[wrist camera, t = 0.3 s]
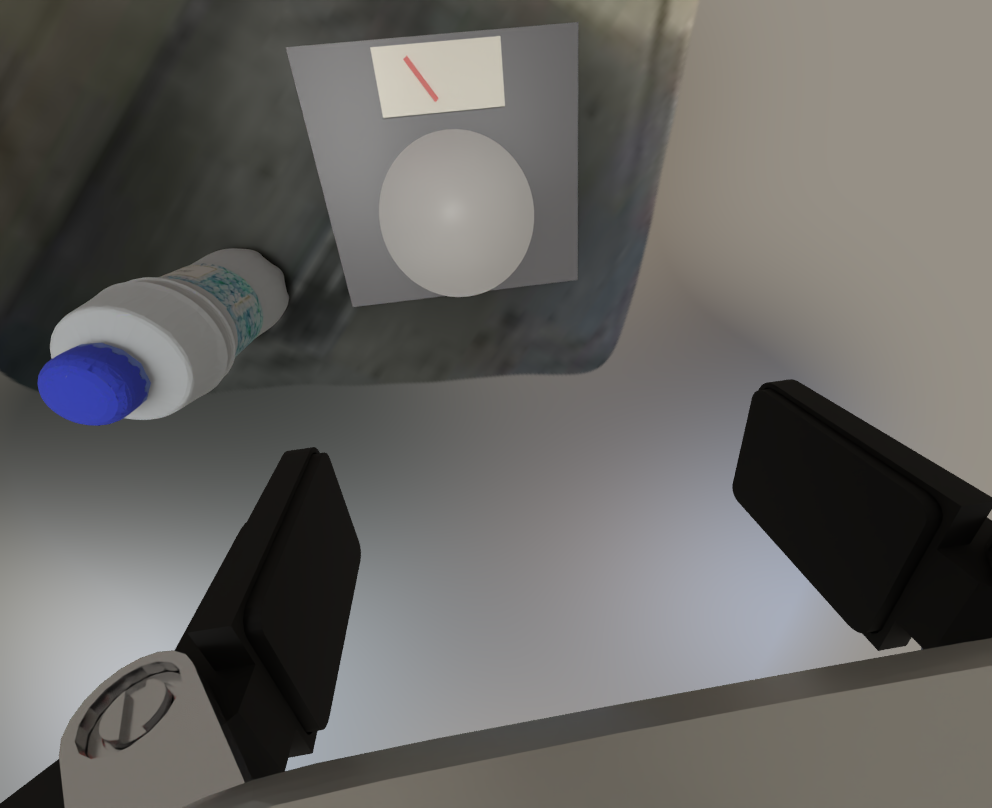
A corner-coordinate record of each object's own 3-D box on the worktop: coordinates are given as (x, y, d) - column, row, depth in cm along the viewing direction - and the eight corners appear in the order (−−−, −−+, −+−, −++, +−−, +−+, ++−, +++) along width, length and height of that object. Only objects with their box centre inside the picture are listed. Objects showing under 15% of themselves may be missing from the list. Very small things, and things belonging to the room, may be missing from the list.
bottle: (262, 226, 33) (67, 292, 16) (314, 304, 36) (199, 432, 19) (188, 262, 34) (-80, 365, 16) (245, 336, 37) (72, 488, 20)
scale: (299, 58, 29) (280, 43, 25) (565, 34, 30) (582, 17, 26) (358, 297, 36) (350, 310, 33) (568, 271, 37) (581, 282, 34)
